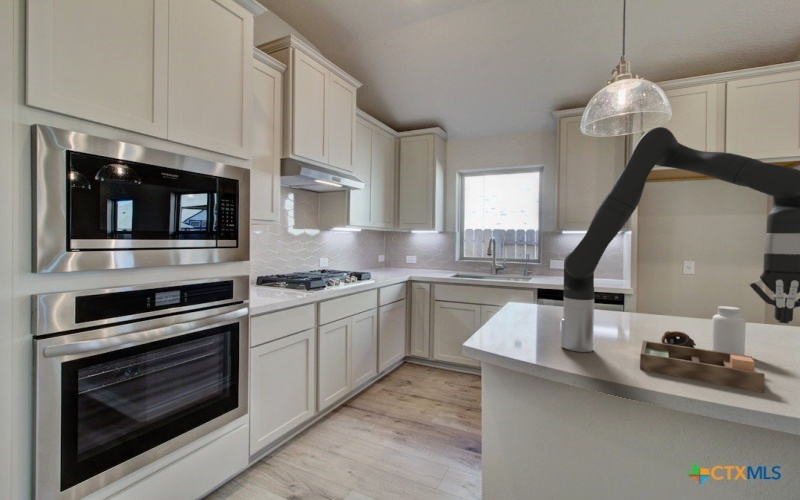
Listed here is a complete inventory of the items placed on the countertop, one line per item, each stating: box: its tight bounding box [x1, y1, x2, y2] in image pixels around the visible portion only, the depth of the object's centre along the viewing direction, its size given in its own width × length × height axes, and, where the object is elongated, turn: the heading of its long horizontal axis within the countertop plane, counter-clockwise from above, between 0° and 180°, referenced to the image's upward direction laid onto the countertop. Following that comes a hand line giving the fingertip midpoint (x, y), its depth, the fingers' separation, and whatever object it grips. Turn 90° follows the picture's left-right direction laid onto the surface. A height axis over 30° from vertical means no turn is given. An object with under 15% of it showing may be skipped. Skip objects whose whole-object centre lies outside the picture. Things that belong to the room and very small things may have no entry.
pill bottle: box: [711, 305, 747, 355], centre depth 115 cm, size 8×8×15 cm
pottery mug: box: [661, 330, 696, 348], centre depth 115 cm, size 12×10×8 cm
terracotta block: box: [730, 355, 755, 371], centre depth 91 cm, size 4×4×4 cm
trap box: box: [639, 339, 766, 393], centre depth 100 cm, size 25×16×4 cm, turn 53°
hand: (783, 322), depth 87 cm, fingers closed
